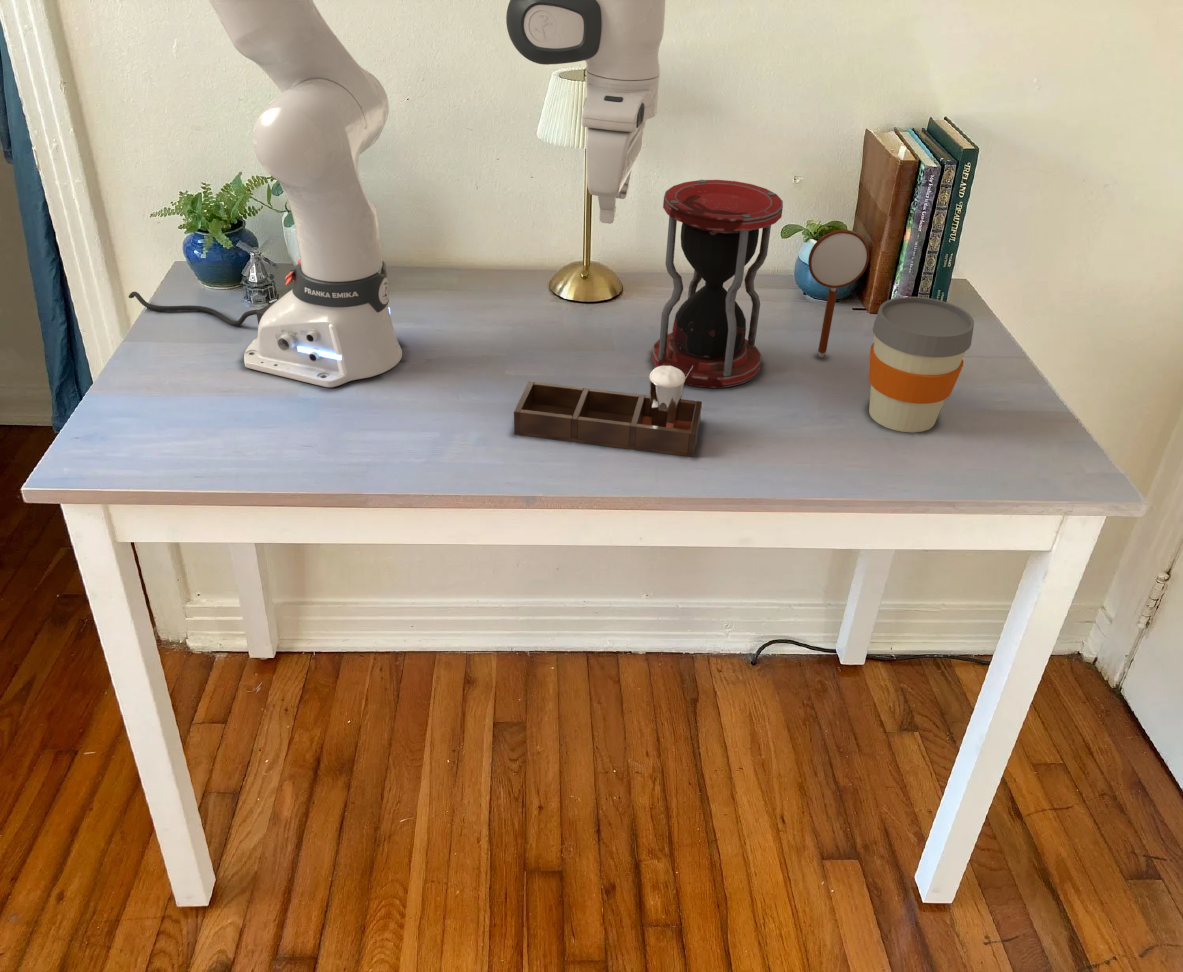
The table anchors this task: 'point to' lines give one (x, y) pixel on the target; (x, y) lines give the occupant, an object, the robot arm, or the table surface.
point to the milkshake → (665, 395)
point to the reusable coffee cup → (915, 360)
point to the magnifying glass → (836, 269)
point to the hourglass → (715, 279)
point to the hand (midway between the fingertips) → (613, 208)
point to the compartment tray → (603, 419)
